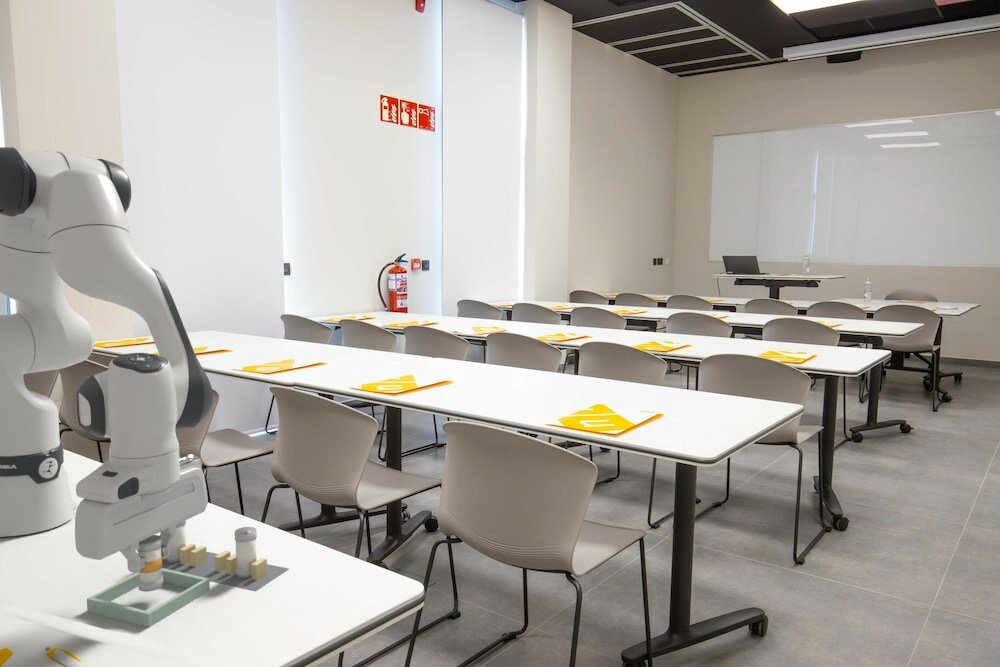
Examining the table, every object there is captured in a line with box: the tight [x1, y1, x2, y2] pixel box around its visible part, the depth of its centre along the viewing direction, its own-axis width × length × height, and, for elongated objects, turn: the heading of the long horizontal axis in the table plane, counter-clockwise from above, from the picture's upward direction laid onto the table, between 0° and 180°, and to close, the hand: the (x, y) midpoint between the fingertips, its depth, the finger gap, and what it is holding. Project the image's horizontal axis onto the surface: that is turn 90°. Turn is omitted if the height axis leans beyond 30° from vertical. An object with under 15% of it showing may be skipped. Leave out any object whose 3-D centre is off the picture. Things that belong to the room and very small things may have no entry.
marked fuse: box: [136, 534, 164, 593], centre depth 103 cm, size 3×3×7 cm
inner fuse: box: [166, 520, 187, 563], centre depth 116 cm, size 3×3×7 cm
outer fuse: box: [234, 526, 258, 578], centre depth 112 cm, size 3×3×7 cm
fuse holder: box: [162, 543, 290, 592], centre depth 114 cm, size 24×8×4 cm, turn 70°
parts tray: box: [86, 568, 211, 628], centre depth 103 cm, size 11×11×3 cm
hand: (149, 563), depth 103 cm, fingers closed on marked fuse, 3 cm apart
